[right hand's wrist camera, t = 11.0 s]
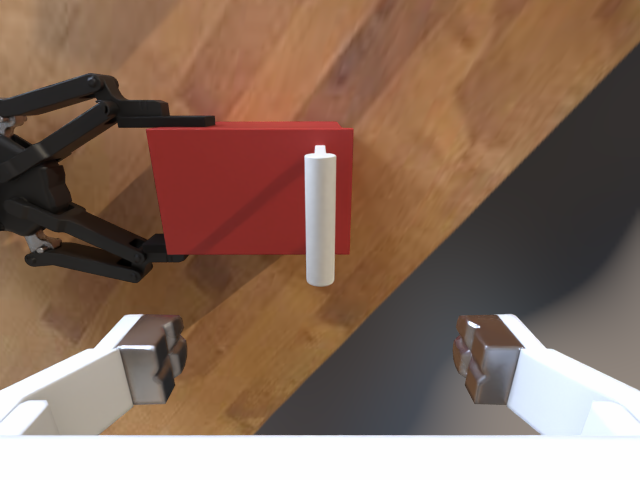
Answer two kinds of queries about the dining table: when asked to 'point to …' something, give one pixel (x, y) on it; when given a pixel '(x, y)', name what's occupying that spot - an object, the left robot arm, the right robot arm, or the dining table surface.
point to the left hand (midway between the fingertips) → (217, 185)
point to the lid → (256, 192)
